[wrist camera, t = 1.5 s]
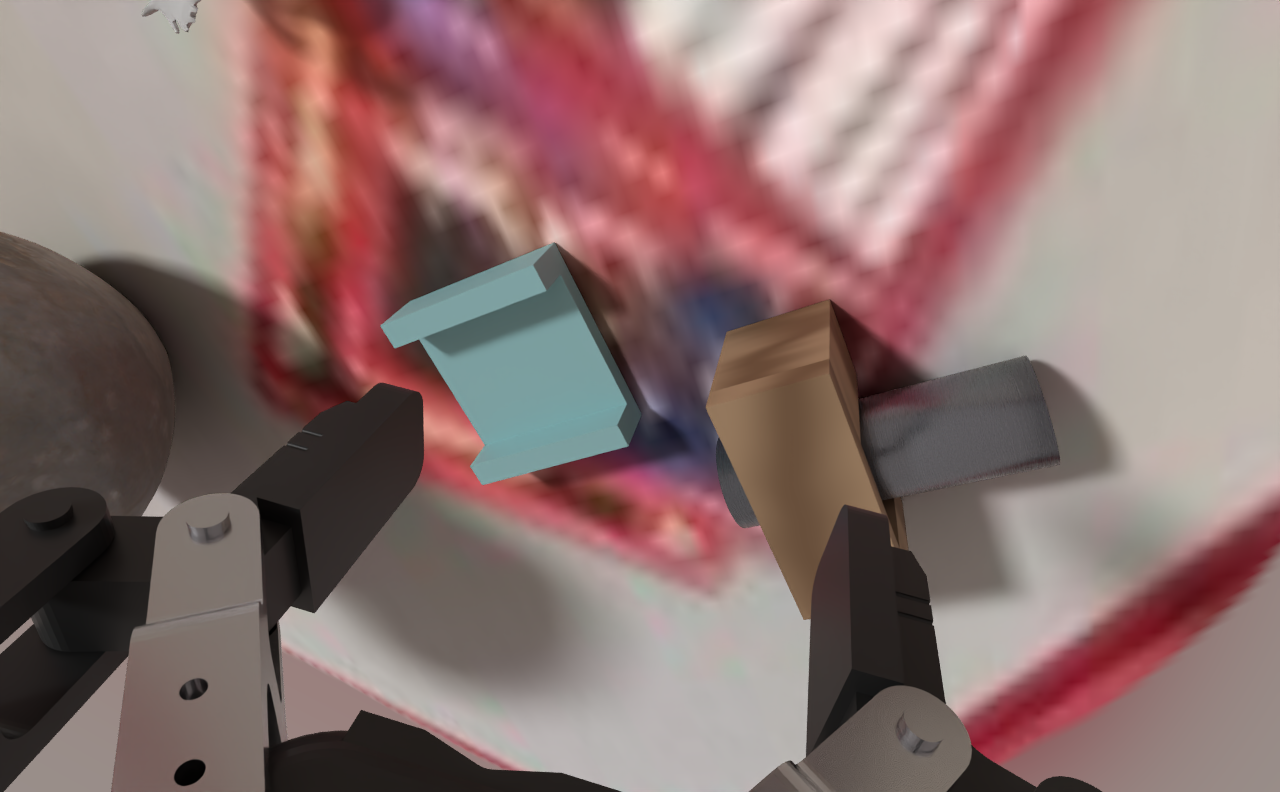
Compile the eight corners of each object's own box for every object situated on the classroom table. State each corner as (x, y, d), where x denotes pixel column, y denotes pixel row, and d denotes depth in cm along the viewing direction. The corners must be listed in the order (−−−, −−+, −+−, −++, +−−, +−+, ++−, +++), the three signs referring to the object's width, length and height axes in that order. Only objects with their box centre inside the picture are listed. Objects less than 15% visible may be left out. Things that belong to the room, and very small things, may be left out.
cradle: (554, 242, 35) (532, 264, 32) (641, 414, 38) (628, 446, 36) (409, 301, 38) (380, 325, 36) (503, 453, 42) (482, 485, 39)
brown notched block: (829, 299, 33) (829, 373, 27) (902, 503, 38) (915, 603, 32) (726, 331, 35) (705, 407, 29) (808, 521, 40) (803, 619, 34)
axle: (1018, 337, 32) (1042, 386, 28) (1041, 428, 34) (1067, 487, 30) (724, 416, 38) (709, 467, 34) (756, 491, 39) (746, 548, 35)
